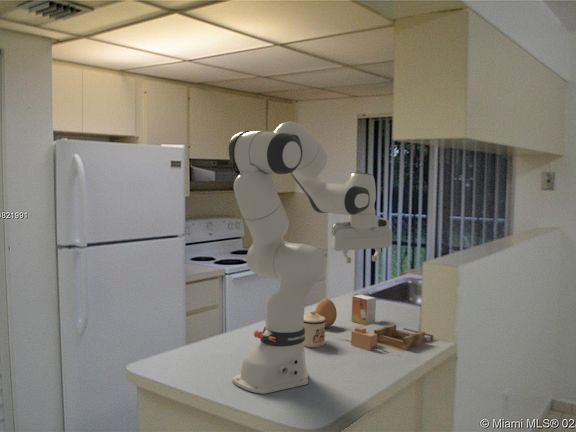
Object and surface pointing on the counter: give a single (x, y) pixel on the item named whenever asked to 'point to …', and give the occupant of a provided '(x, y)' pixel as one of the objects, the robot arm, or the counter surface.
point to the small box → (363, 309)
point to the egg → (327, 311)
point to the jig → (400, 338)
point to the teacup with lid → (314, 329)
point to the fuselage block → (363, 339)
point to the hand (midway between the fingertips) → (361, 261)
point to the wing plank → (415, 333)
